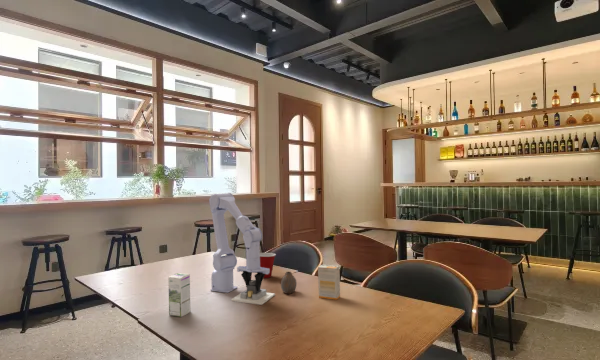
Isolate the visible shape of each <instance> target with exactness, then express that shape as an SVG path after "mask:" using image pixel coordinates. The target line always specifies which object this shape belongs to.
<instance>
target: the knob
mask: <svg viewBox="0 0 600 360" xmlns="http://www.w3.org/2000/svg"><path fill="white" fill-rule="evenodd" d="M246 290H247V295H248V297H252V294H257V293H259V292H260V290H259V291H257V290H256V279H251V280H250V281H249V285H247V287H246Z"/></svg>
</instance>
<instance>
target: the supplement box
mask: <svg viewBox="0 0 600 360" xmlns="http://www.w3.org/2000/svg"><path fill="white" fill-rule="evenodd" d="M340 273H341V272H340V265H331V264H321V265H319V266H318V267H317V275H318V276H317V278H318V281H317V282H318V298H319V299H327V300H328V299H329V300H335V301H337V300H339V299H340V298H341V277H340Z"/></svg>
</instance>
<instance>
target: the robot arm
mask: <svg viewBox="0 0 600 360" xmlns="http://www.w3.org/2000/svg"><path fill="white" fill-rule="evenodd" d="M208 202H209V209H210V213H211V216H212V223H213V229H214V230H213V231H214V237H215V242H216V249H217V250H216V251H215V252H214V253H213V255H212V266H213V269H214V270H213V271H212V272H211V279H210V280H211V289H210V291H213V292H220V293H227V294H228V293H230V292H232V291H234V290H236V289H237V288H238V286H236V285H235V286H234V270H235V268H236V269H237V270H236V272H239V273H240V272H242V273H241V276H240V277H242V279H243V281H244V283H245V287H246V288H247V285H249V281H250V280H252V274H253V273H256V274H254V280H256V290H257V291H259V290H260V289H261V287H262V284H263V280H264V279H265V278H264V276H265V274H269V273H270V269H268V268H263V267H260V253H261V250H260V249H261V244H260V242H261V241H262V240H263V232H262V229H261V228H259V227H257V226H254V224H253V223H252V221H251V220H250V219H249V216H247V215H243V213H242V212H241V210H240V208H239V207H238V205H237V204H236V198H235V197H234V195H233V194H232V193H231V192H228V193H226V192H225V193H212V194H211V195H210V197H209V200H208ZM226 212H229V214H230V215H231V216H232V217H233V219H235V224H236V225H235V226H237V228H238V230H239V231H240V232H241V234H242V240H243V243H244V247H245V251H246V252H245V257H246V258H245V262H246V263H245V264H246V266H245V265H242V266H241V265H239V266H237V265H238V258H237V256H236V254H235V251H234V249H232V248H231V247H230V245H229V244H230V243H229V239H228V232H227V227H226V226H227V225H226V220H225V213H226ZM236 266H237V267H236Z"/></svg>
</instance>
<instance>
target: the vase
mask: <svg viewBox="0 0 600 360" xmlns="http://www.w3.org/2000/svg"><path fill="white" fill-rule="evenodd" d="M280 281H281V282H280V287H281V290H282V292H284V293H285V294H292V293H294V292H295V291H296V289H297V279H296V277H295V276H294V275H293V273H292V272H291V271H285V273H284V275H283V277H282V278H281V280H280Z"/></svg>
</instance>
